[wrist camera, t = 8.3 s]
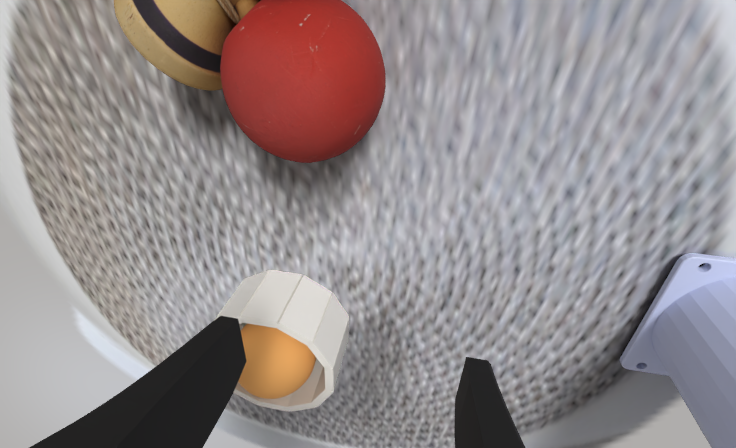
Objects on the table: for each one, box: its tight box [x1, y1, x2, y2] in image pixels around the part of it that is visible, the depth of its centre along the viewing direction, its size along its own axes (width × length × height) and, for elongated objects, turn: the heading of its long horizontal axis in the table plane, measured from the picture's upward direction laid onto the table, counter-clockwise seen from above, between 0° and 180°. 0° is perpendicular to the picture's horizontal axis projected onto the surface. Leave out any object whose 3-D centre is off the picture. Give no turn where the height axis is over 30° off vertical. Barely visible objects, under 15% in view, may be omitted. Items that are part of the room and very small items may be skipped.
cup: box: [215, 270, 349, 412], centre depth 23 cm, size 8×8×4 cm
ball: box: [238, 323, 316, 399], centre depth 23 cm, size 5×5×5 cm
